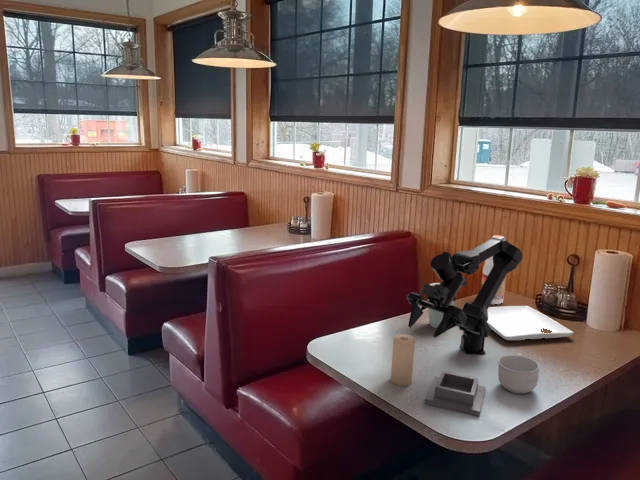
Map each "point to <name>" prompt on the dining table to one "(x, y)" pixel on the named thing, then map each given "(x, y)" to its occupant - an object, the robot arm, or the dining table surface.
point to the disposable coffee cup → (435, 314)
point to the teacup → (518, 373)
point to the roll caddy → (456, 393)
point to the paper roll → (402, 359)
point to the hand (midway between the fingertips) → (421, 331)
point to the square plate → (523, 323)
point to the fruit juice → (486, 270)
